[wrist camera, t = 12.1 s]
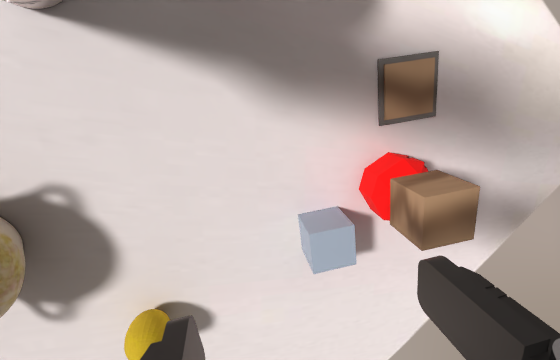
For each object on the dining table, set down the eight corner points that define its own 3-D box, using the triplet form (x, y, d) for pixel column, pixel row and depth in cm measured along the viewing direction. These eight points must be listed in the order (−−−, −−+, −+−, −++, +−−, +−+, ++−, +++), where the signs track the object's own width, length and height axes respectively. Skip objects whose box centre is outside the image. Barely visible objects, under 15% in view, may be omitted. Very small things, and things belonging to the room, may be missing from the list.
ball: (414, 183, 42) (452, 202, 35) (370, 213, 42) (398, 238, 35) (392, 140, 39) (429, 152, 32) (345, 173, 40) (371, 191, 32)
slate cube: (297, 214, 40) (309, 234, 35) (337, 206, 41) (354, 224, 35) (302, 249, 42) (313, 274, 37) (339, 241, 43) (356, 264, 37)
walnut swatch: (377, 59, 35) (379, 59, 35) (437, 51, 36) (440, 50, 36) (378, 125, 38) (380, 126, 38) (434, 115, 39) (437, 116, 39)
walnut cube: (390, 178, 32) (424, 197, 27) (437, 169, 33) (480, 186, 27) (389, 224, 34) (421, 250, 29) (434, 215, 35) (473, 239, 29)
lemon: (175, 296, 41) (163, 342, 33) (176, 326, 42) (165, 376, 35) (134, 298, 40) (113, 346, 32) (137, 328, 41) (117, 381, 34)
